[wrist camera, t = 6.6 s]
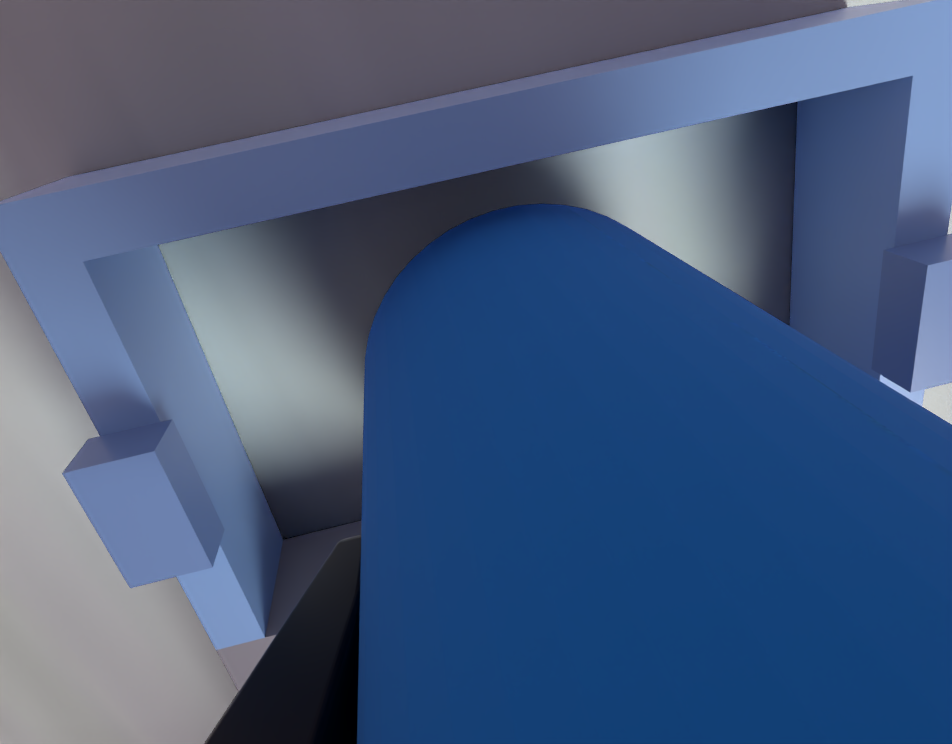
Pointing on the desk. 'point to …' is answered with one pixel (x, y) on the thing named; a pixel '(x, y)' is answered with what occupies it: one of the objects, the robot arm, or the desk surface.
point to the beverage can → (637, 509)
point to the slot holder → (447, 157)
